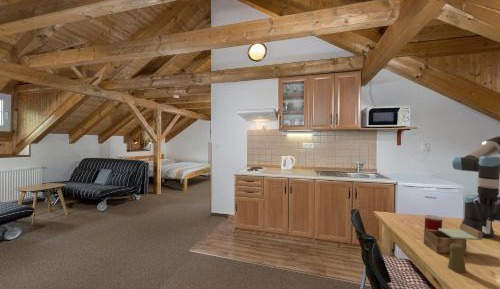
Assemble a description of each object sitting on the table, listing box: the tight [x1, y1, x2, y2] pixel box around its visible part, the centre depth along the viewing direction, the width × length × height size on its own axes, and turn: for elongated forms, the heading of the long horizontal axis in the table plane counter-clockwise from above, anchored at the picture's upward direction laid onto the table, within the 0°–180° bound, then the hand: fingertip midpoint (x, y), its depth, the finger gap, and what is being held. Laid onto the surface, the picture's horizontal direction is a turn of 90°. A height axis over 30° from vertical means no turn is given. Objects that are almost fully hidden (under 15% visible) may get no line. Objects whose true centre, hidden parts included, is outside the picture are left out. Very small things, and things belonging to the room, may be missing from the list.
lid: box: [438, 223, 484, 241], centre depth 120 cm, size 13×11×4 cm
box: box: [423, 229, 467, 256], centre depth 121 cm, size 13×11×8 cm
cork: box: [447, 243, 467, 274], centre depth 102 cm, size 6×6×11 cm
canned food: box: [424, 214, 443, 230], centre depth 138 cm, size 8×8×11 cm
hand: (486, 232), depth 118 cm, fingers closed
